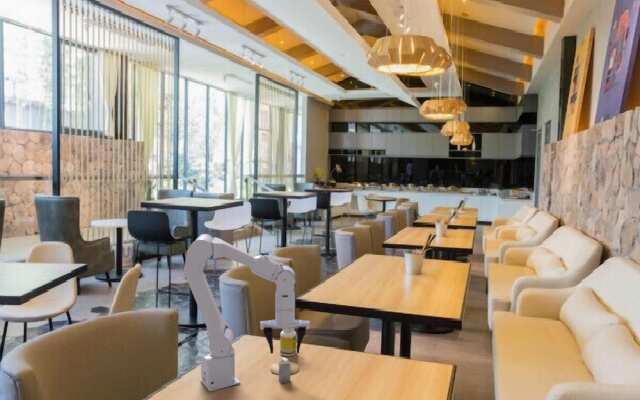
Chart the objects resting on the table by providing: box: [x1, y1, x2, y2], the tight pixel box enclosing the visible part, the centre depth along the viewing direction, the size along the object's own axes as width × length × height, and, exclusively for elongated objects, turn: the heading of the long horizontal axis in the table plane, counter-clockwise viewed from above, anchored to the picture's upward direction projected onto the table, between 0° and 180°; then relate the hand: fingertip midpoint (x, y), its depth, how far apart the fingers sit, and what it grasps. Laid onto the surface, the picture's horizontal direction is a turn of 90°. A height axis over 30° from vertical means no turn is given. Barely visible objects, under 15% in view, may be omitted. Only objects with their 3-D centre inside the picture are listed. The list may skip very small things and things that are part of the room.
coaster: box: [269, 361, 300, 376], centre depth 158 cm, size 9×9×1 cm
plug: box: [278, 356, 291, 384], centre depth 150 cm, size 3×3×7 cm
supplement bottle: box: [279, 328, 297, 357], centre depth 170 cm, size 5×5×10 cm
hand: (284, 351), depth 149 cm, fingers open, 7 cm apart
